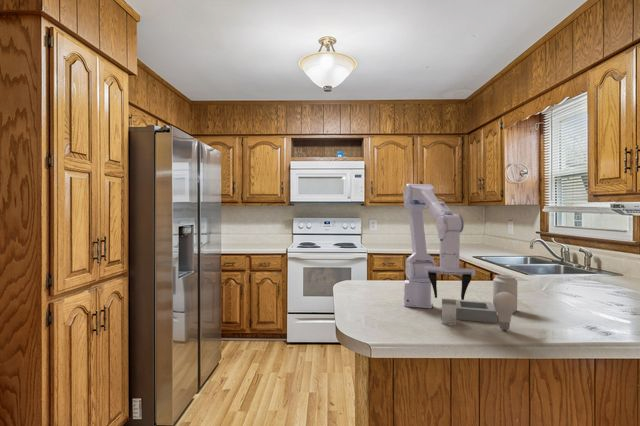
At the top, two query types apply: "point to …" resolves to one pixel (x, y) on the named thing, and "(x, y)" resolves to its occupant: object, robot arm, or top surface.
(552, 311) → the top surface
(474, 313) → the well block
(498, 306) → the lightbulb
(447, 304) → the bracket
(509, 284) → the can
